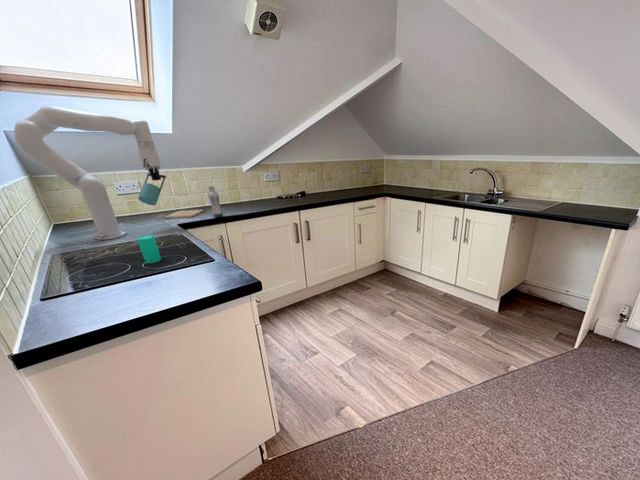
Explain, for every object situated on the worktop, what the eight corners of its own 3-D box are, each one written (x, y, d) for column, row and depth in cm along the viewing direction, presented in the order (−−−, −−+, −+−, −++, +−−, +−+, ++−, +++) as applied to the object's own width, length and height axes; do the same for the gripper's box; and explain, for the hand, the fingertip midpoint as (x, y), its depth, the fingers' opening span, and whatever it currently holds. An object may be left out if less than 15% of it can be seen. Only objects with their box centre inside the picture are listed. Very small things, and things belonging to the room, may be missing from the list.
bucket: (152, 177, 175) (144, 168, 167) (169, 180, 176) (161, 171, 168) (142, 204, 169) (133, 196, 161) (160, 206, 170) (151, 198, 162)
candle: (163, 257, 131) (154, 230, 126) (159, 261, 126) (150, 234, 121) (147, 259, 130) (137, 232, 125) (143, 264, 124) (133, 236, 119)
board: (191, 217, 203) (190, 215, 202) (164, 218, 202) (164, 216, 202) (204, 211, 221) (204, 209, 221) (180, 212, 220) (179, 210, 220)
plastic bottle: (216, 218, 197) (209, 187, 189) (211, 217, 201) (203, 187, 193) (225, 216, 202) (218, 186, 194) (220, 215, 206) (213, 185, 198)
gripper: (148, 145, 171) (158, 178, 179) (129, 145, 157) (141, 181, 165) (161, 144, 172) (171, 178, 179) (143, 145, 157) (154, 181, 165)
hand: (156, 179), depth 172 cm, fingers closed on bucket, 1 cm apart
